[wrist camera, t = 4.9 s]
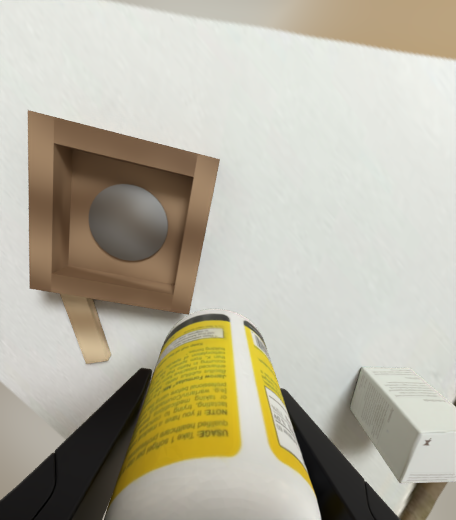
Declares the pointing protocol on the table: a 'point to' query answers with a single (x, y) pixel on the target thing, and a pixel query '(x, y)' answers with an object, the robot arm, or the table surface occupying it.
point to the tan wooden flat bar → (87, 328)
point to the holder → (115, 215)
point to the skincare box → (407, 424)
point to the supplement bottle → (213, 433)
